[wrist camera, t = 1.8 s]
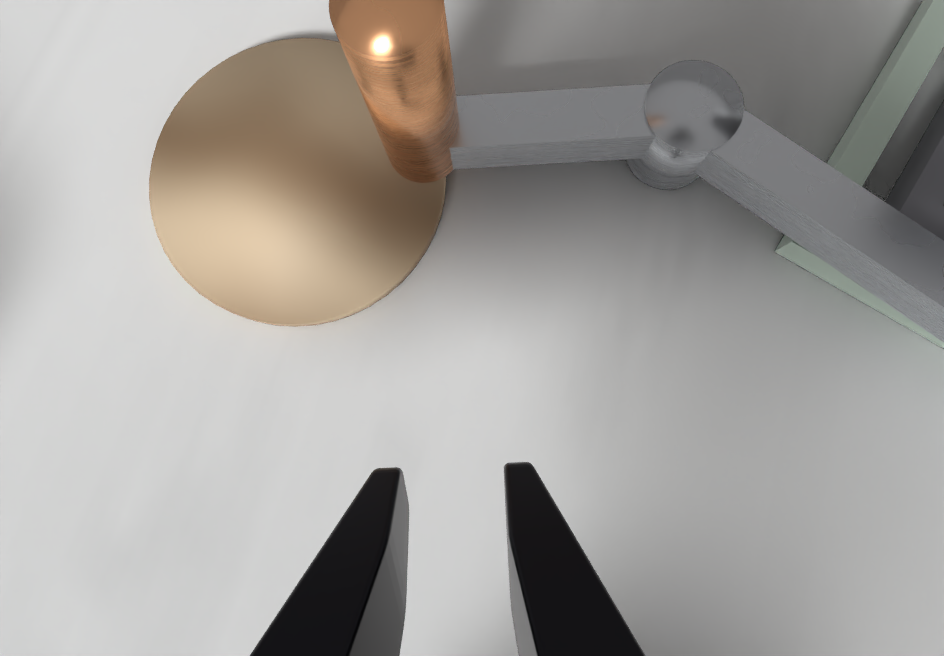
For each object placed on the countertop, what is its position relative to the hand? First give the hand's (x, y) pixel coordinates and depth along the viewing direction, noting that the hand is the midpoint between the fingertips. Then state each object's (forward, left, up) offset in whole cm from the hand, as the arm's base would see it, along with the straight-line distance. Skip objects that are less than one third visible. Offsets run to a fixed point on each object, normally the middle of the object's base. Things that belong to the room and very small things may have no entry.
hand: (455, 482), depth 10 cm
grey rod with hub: (+7, -7, -10) cm, 14 cm away
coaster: (+8, +7, -11) cm, 15 cm away
